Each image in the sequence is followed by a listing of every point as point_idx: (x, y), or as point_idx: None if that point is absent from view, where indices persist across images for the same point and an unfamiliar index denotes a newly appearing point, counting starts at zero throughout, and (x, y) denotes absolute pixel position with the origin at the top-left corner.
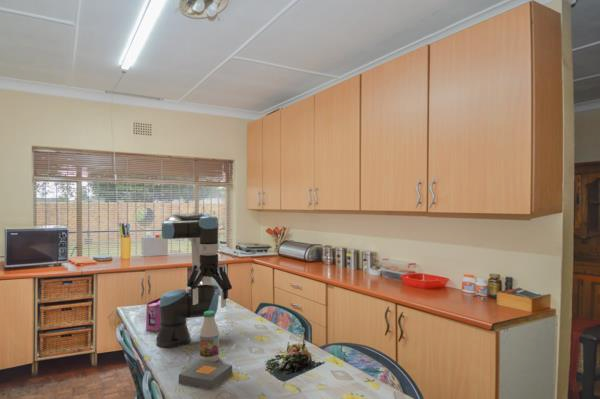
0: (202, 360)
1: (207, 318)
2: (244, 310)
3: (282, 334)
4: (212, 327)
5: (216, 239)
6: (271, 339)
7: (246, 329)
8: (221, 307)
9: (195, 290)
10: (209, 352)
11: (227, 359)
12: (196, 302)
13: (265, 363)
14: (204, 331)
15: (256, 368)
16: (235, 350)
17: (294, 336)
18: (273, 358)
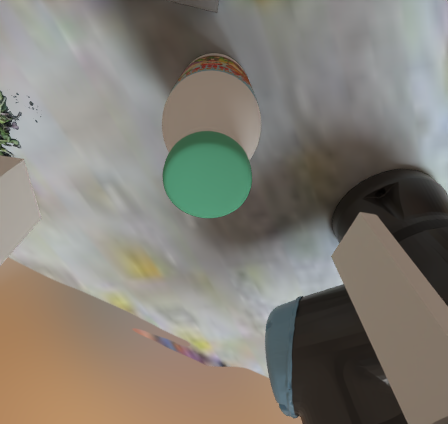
0: (208, 2)
1: (203, 126)
2: (252, 369)
3: (101, 289)
4: (175, 112)
5: None
6: (109, 262)
7: (204, 301)
8: (13, 159)
9: (440, 377)
10: (196, 61)
11: (155, 111)
12: (348, 248)
13: (1, 96)
14: (220, 82)
15: (3, 46)
16: None
17: (65, 283)
18: (5, 140)
